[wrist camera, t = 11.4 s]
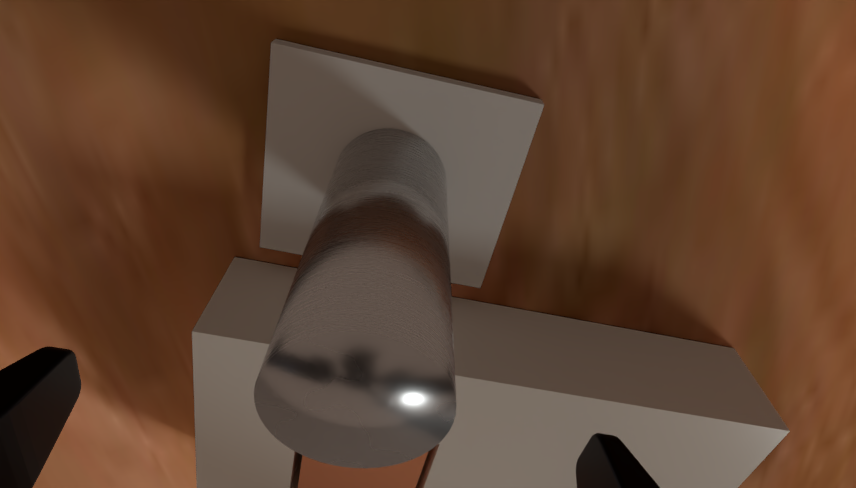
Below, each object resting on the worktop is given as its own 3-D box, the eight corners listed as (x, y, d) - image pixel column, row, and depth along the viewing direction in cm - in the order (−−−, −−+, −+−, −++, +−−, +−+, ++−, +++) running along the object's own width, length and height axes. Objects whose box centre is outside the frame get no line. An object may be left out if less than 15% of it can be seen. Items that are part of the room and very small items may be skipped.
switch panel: (734, 348, 21) (789, 431, 18) (614, 510, 28) (639, 593, 24) (234, 256, 19) (191, 331, 16) (229, 455, 26) (198, 538, 22)
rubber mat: (541, 99, 16) (544, 104, 16) (479, 279, 20) (480, 288, 19) (275, 38, 15) (270, 42, 15) (263, 239, 19) (259, 247, 18)
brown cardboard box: (430, 365, 22) (429, 448, 19) (409, 431, 24) (405, 515, 21) (326, 348, 22) (306, 429, 18) (315, 417, 24) (295, 500, 21)
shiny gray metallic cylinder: (458, 141, 16) (479, 352, 9) (432, 237, 18) (431, 478, 11) (341, 117, 16) (258, 316, 8) (328, 218, 18) (250, 453, 10)
